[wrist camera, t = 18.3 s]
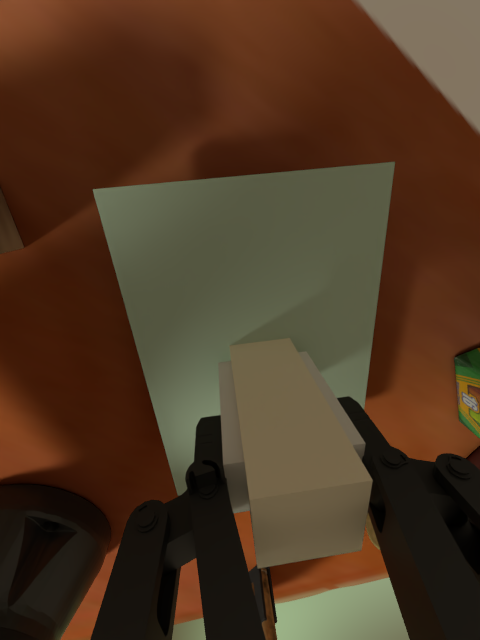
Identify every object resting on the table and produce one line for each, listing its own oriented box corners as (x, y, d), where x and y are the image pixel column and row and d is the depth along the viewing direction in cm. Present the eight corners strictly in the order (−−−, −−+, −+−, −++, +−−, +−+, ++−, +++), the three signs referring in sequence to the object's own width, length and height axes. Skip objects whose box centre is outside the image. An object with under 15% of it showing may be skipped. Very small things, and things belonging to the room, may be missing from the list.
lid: (344, 444, 23) (447, 634, 13) (180, 469, 23) (156, 691, 12) (370, 167, 15) (725, 89, 5) (109, 191, 14) (-161, 161, 4)
